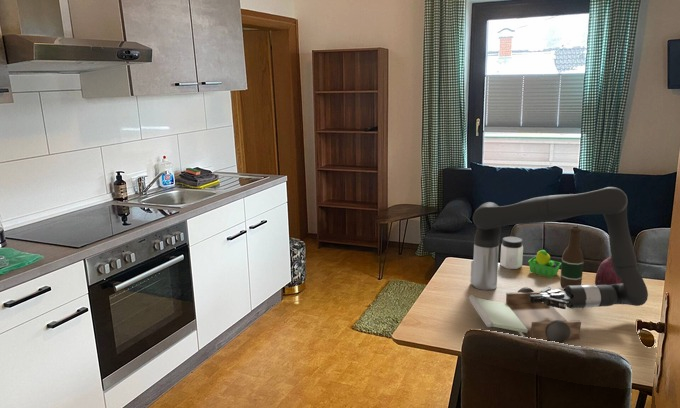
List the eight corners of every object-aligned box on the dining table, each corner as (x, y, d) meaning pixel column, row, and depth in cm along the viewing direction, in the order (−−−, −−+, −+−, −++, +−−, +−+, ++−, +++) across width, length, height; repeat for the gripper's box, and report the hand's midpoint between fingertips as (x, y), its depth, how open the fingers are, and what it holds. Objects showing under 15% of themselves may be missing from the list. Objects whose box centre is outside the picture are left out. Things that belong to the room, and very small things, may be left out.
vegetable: (624, 296, 193) (638, 265, 186) (596, 291, 195) (608, 260, 187) (617, 280, 202) (630, 249, 194) (590, 275, 204) (602, 245, 196)
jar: (500, 268, 216) (501, 241, 213) (500, 261, 224) (501, 235, 221) (522, 270, 213) (524, 243, 210) (521, 263, 221) (523, 237, 218)
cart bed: (545, 304, 181) (546, 286, 179) (582, 342, 155) (584, 321, 154) (503, 306, 181) (504, 288, 179) (534, 344, 155) (535, 323, 153)
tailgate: (507, 302, 176) (469, 294, 175) (528, 328, 158) (487, 320, 157) (505, 307, 177) (468, 300, 176) (526, 334, 158) (485, 326, 157)
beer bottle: (555, 283, 199) (560, 225, 193) (574, 282, 200) (579, 224, 194) (565, 291, 191) (571, 231, 186) (585, 290, 192) (591, 230, 186)
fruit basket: (561, 274, 208) (563, 248, 205) (552, 280, 202) (554, 254, 199) (534, 267, 216) (536, 242, 213) (524, 273, 210) (526, 247, 207)
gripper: (573, 278, 171) (522, 280, 171) (593, 294, 159) (538, 296, 158) (571, 298, 173) (521, 300, 173) (591, 316, 160) (537, 318, 160)
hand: (529, 298), depth 166 cm, fingers closed
